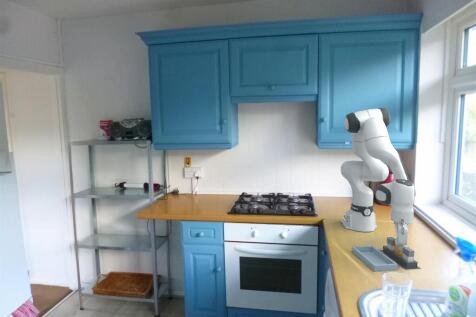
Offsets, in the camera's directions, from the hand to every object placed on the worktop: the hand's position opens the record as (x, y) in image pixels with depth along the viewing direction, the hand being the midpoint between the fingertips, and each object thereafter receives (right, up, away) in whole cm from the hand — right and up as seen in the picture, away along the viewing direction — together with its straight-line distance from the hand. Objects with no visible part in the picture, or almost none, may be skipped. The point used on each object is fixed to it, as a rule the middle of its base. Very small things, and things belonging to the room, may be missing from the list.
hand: (400, 247), depth 143 cm
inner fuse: (-1, -5, +6) cm, 8 cm away
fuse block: (0, -6, +1) cm, 6 cm away
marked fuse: (0, -4, 0) cm, 4 cm away
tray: (-12, -7, -1) cm, 14 cm away
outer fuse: (0, -6, -5) cm, 8 cm away
